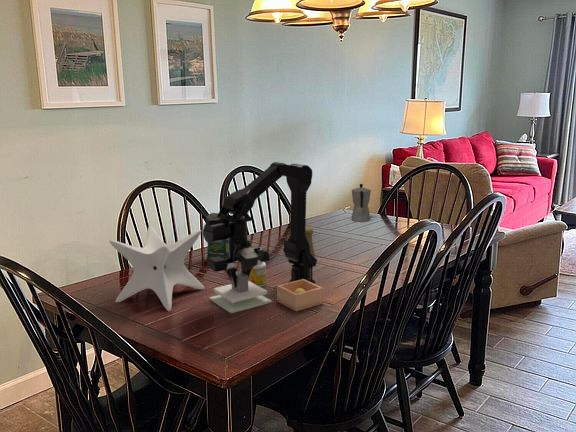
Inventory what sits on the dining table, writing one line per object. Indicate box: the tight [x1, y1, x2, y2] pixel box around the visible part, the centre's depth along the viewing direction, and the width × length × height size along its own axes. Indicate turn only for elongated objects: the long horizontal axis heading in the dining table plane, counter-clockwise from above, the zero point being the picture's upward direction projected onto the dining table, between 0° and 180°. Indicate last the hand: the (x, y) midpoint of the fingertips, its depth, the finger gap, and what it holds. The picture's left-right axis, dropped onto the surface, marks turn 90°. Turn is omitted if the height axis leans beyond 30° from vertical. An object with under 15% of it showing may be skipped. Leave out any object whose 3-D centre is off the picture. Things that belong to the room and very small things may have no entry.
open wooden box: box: [276, 279, 324, 312], centre depth 165 cm, size 10×10×5 cm
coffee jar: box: [205, 212, 230, 261], centre depth 206 cm, size 10×8×19 cm
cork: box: [305, 226, 315, 256], centre depth 213 cm, size 6×6×11 cm
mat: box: [208, 294, 273, 314], centre depth 168 cm, size 14×14×1 cm
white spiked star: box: [108, 225, 205, 312], centre depth 171 cm, size 20×20×20 cm
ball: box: [294, 288, 305, 294], centre depth 165 cm, size 4×4×4 cm
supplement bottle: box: [249, 260, 267, 288], centre depth 181 cm, size 5×5×10 cm
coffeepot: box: [351, 183, 372, 223], centre depth 267 cm, size 15×9×18 cm, turn 175°
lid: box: [213, 270, 268, 303], centre depth 167 cm, size 12×12×6 cm
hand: (239, 286), depth 167 cm, fingers closed on lid, 3 cm apart
